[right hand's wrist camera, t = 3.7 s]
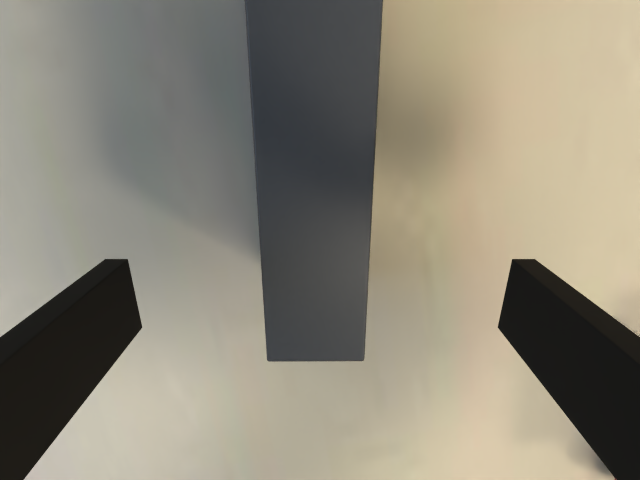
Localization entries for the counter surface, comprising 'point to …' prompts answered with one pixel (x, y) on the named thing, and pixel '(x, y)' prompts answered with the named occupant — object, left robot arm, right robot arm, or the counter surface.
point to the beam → (314, 169)
